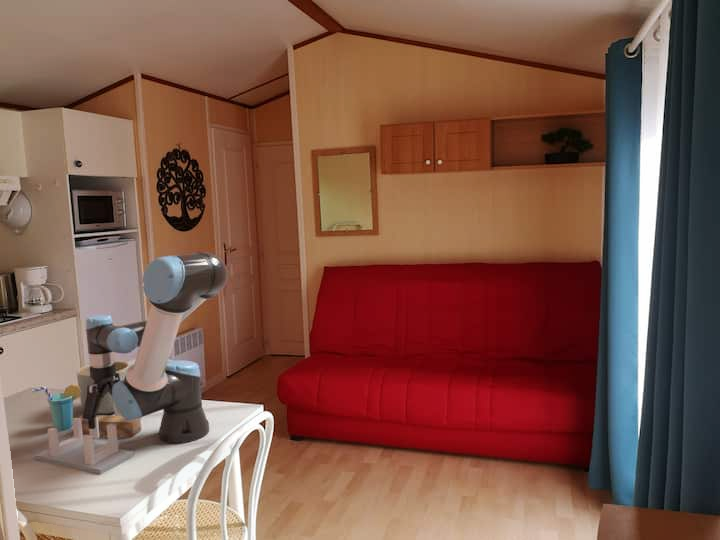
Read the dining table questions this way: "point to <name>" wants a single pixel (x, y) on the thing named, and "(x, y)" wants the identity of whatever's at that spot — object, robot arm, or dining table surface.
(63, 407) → the cup
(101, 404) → the planter
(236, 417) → the dining table surface
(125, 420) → the rail
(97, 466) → the bracket board
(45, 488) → the dining table surface
